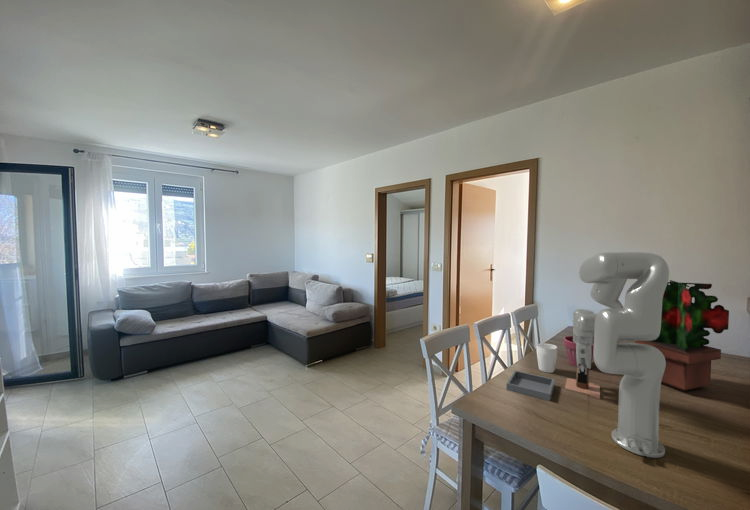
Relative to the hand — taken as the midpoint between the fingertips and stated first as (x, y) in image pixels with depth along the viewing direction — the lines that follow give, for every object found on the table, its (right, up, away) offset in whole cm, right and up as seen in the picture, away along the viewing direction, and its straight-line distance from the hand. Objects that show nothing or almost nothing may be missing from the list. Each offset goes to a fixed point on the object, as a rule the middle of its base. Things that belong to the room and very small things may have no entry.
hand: (582, 378), depth 130 cm
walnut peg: (0, -4, 0) cm, 4 cm away
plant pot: (+16, -4, +26) cm, 30 cm away
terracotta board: (0, -5, 0) cm, 5 cm away
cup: (-5, -4, +20) cm, 20 cm away
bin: (-22, -5, 0) cm, 23 cm away
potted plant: (+44, -4, +4) cm, 44 cm away
